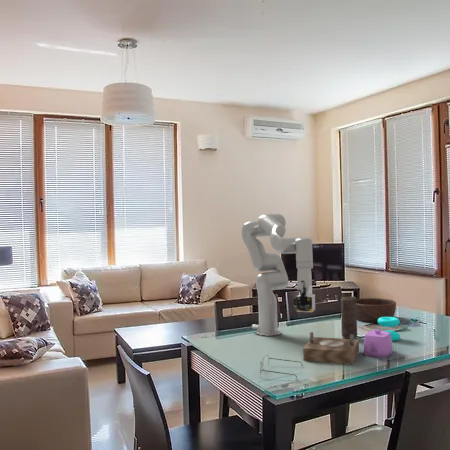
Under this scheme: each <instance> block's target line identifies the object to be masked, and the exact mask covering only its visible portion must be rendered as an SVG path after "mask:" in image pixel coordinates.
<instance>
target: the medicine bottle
mask: <svg viewBox="0 0 450 450" xmlns="http://www.w3.org/2000/svg"><path fill="white" fill-rule="evenodd" d="M304 289H305V288H304ZM304 292H305V291H304ZM307 299H308V305H300V289H299V290H298V295H296V312H298V313H299V312H301V313H313V312H314V311H315V310H316V294H315V293H314V294H313V284H312V285H310V286H309V290H307Z"/></svg>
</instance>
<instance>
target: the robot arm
mask: <svg viewBox="0 0 450 450" xmlns="http://www.w3.org/2000/svg"><path fill="white" fill-rule="evenodd" d="M286 224H287V223H286V218H285V217H284V216H283V215H282V214H280V213H266V214H265V213H264V214H262V215H260V216H259V217H258V219H257V220H250V221H246V222H244V224H243V225H242V227H241V237H242V240H243V243H244V244H245V246H246V248H247V250H248V253H249V256H250V260H251V263H252V266H253V269H254V270H255V271H256V272H259V273H258V274H257V275H256V277H255V286H256V290H257V291H256V292H257V303H258V324H251V329H253V330H256V333H255V334H257V335H258V334H259V335H258V336H262V335H265V336H264V337H270V336H272V337H274V336H278V335H280V334H281V333H282V332H281V330H280V329H279V328H278V308H277V307H278V303H277V300H278V299H277V297H276V295H275V294H274V292H273V291H276V290H279V291H280V290H283V289H286V288H287V287H288V286H289V277H288V276H289V275H288V273H287V271H286V268H285V265H284V262H283V259H282V257H281V255H279V254H282V255H287V254H291V255H292V254H295V261H296V262H295V265H296V269H297V274H296V275H297V276H296V277H297V278H296V280H297V281H296V282H297V283H296V285H297V286H296V287H297V288H296V289H297V291H299V289H300V305H308V299H307V290H309V286H310V285H312V286H313V279H312V269H314V259H313V257H314V256H313V255H314V254H313V241H312V238H310V237H300V236H297V237H284V236H285V233H286V231H287V230H286V229H287V228H286ZM258 237H259V238H260V237H269V242H270V245H271V247H272V248H273V249H274V250H275V251H276V252H267V251H266V249H265V246H264V244H263V243H262V241H260V240H259V239H258ZM277 252H278V253H279V254H278V253H277ZM260 272H261V273H260ZM304 288H305V289H304ZM304 291H305V292H304ZM273 335H274V336H273Z"/></svg>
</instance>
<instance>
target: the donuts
mask: <svg viewBox="0 0 450 450" xmlns="http://www.w3.org/2000/svg"><path fill="white" fill-rule="evenodd" d="M377 324H378V325H380V326H381V327H385V328H394V327H397V326H399V325H400V324H401V322H400V319H399V318H397V317H395V316H394V317H380V318H379V319H378V322H377ZM384 331H385V332H390V334H391V339H392V342H396V341H399V340H400V339H401V335H400V333H399V332H398V331H394V330H390V329H389V330H384Z"/></svg>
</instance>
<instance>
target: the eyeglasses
mask: <svg viewBox="0 0 450 450" xmlns="http://www.w3.org/2000/svg"><path fill="white" fill-rule="evenodd" d="M266 356H267V358H268V362H267V365H269V363H270V360H278V361H286V362H294V363H300V364H301V365H300V367H301V366H304V365H303V363H302V362H301V361H297V360H290V359H281V358H273V357H270V356H269V354H266V355H265V356H263V357H262V358H261V360H264V359H265V357H266ZM259 362H260V363H259V365H260V366H259V367H260V369H259V376H260V375H262V374H261V373H262V372H266V373H268V372H269V373H275V374H281V375H282V374H283V375H289V376H290V375H291V376H295V379H296V378H297V379H298V376H297V375H296V374H295V373H290V372H280V371H275V370H274V371H271V370H265V369H263V367H264V362H263V361H259Z"/></svg>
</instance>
